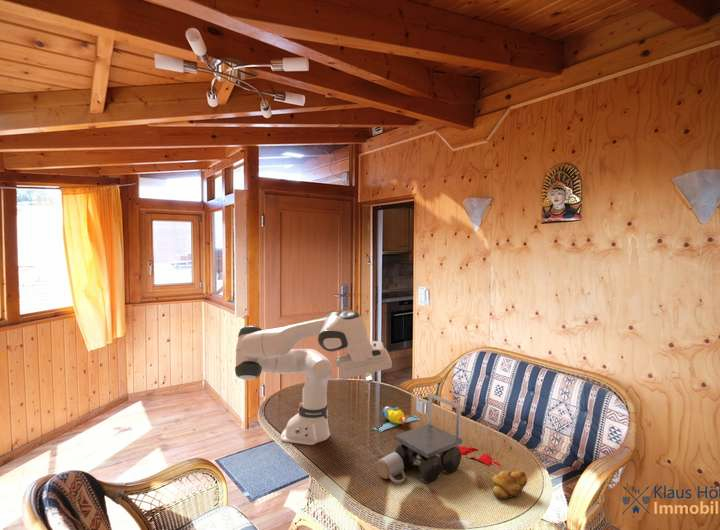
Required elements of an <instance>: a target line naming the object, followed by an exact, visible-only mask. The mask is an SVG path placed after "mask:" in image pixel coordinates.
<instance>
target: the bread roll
mask: <svg viewBox="0 0 720 530" xmlns="http://www.w3.org/2000/svg"><path fill="white" fill-rule="evenodd" d="M527 483H528V477H527V475H526V473H525V472H524V471H523V470H522V471H521V470H517V471H516V470H515V471H510V470H501V471H500V472H499V473H498V474H495V475H494V476H493V477H492V479H491V486H492V494H493V495H494V497H496V498H497V499H499V500H506V499H508V498H516V497H519V496H520V495H521V494H522V492H523V489H524V487H525V486H526V485H527Z"/></svg>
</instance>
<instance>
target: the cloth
mask: <svg viewBox="0 0 720 530" xmlns="http://www.w3.org/2000/svg"><path fill="white" fill-rule="evenodd" d="M455 447H457V448H459V450H460V452H461V455H467V454H468V453H471V452H474V451H478V449H479V448H476V447H472V446H471V447H467V446H460V445H458V446H455ZM489 455H490V454H489V453H487V454H483V456H481V457H480V458H479V459H475V457H472V458H473V459H474V460H476V461H479V462H480V463H483V464H485V465H487V466H488V465H492V462H493V461H492V459H493V460H495V458H494V457H492V456H491V455H490V456H491V457H492V458H491V457H490V456H489ZM493 463H494V464H497V465H498V466H497V465H496V466H497V467H501V464H499V463H498V461H496V462H493ZM494 464H493V465H494ZM493 465H492V466H493Z"/></svg>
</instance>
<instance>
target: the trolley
mask: <svg viewBox="0 0 720 530" xmlns="http://www.w3.org/2000/svg"><path fill="white" fill-rule="evenodd" d="M427 399H428V406H427V407H428V410H427V412H428V413H427V415H428V416H427V417H428V420H427V423H426V424H423V425H421V426H418V427H414V428H412V429H409V430H406V431H404V432H401V433H399V434H396V435H394V441H396V442H398V443H399V444H398V445H397V447H396V450H395V452H396V453H397V454H399V455H400V457H401V458H402V460H403V463H404V469H409V468H410V467H412V465H413V464H414V463H415V462H416V463H418V469H417V470H418V476H419V478H420V479H421V480H422V482H425V484H433V483H435V482H436V481H437V480H438V478H439V477H440V475H441V473H442V471H443V472H445V473H447V474H449V475H451V474H454V473H455V472H456V471H457V470H458V469H459V466H460V464H461V461H462V456H461V452H460V450H459V448H457V447H455V446H460V445H462V444H463V439H462V434H461V433H462V429H461V428H462V405H461V404H460V403H457V402H454V401H452V400H449V399H446V398H444V397H441V396H440V395H439V396H438V395H436V394H433V393H428V396H427ZM433 400H435V401H438V402H440V403H444V404H445V405H449V406H451V407H454V408H456V414H455V415H456V417H455V418H456V419H455V420H456V424H455V426H456V428H455V429H456V430H455V431H456V433H455V435H454V434H452V433H449V432H447V431H445V430H443V429H441V428H439V427H437V426H434V425H433ZM418 457H419V458H421V459H419V458H418Z"/></svg>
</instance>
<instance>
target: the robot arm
mask: <svg viewBox="0 0 720 530" xmlns="http://www.w3.org/2000/svg"><path fill="white" fill-rule="evenodd" d="M367 332H368V331H367V328H366V325H365V322H364V320H363V318H362V316H361V314H360V313H359V312H357V311H356V310H345V311H333V312H329V314H327V315H325V316H324V317H320V318H315V319H311V320H305V321H301V322H297V323H293V324H288V325H285V326H281V327H275V328H269V329H262V328H261V327H259V326H255V325H246V326H244V327H242V328H240V329H239V332H238V335H237V337H238V338H237V342H236V343H237V344H236V347H235V367H234V372H235V376H236V377H237V378H238V379H240V380H245V381H252V380H256V379H257V378H259V377H260V376H261V374H262V373H268V374H277V375H278V374H279V375H280V374H282V375H291V374H296V373H302V374H305V381H304V386H303V387H302V402H300V403H299V404H298V406H297V407H298V408H297V412H298V413H296V414H295V415H294V416H292V417H291V418H290V419H289V420H288V422H287V423H286V427H285V428H284V430H282V432H281V435H280V441H281V442H283V443H284V442H285V443H291V444H293V443H294V444H300V445H308V446H313V445H315V444H317V443H321V442H323V441H326V440H328V439H329V438H330V437H331V432H330V428H329V423H328V416H329V407H328V403H327V401H328V400H327V396H328V395H327V394H328V392H327V391H328V383H329V379H330V377H331V375H332V373H333V365H332V363H331V361H330V359H329V358H328V357H327V356H326V355H324V354H322V353H321V352H319V351H318V350H316V349H313V348H295V346H296V345H298V344H299V343H300V342H301V341H303V340H305V339H306V338H309V337H313V336H318V337H317V342H318V345H319V346H320V347H321V348H322V349H323V350H324V351H326V352H329V353H330V352H331V353H332V352H337V351H340V350H344V349H347V352H348V354H344V355H339V356H338V357H336V358H335V361H334V363H335V364H336V367H337V368H338V373H339V377H340V379H342V380H348V379H352V378H356V377H360V378H361V379H363V381H365V384H367V385H368V384H370V383H374V382H375V381H374V377H375V373H377V372H380V371H386V370H388V369H391V368H392V367H393V362H392V358H391V355H390V354H389V352H388V350H387V348H385V347H384V343H383V342H382V341H379V340H378V341H377V340H370V339H369V337H368V335H367V334H368V333H367ZM368 374H370V376H366V375H368ZM329 436H330V437H329Z"/></svg>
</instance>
